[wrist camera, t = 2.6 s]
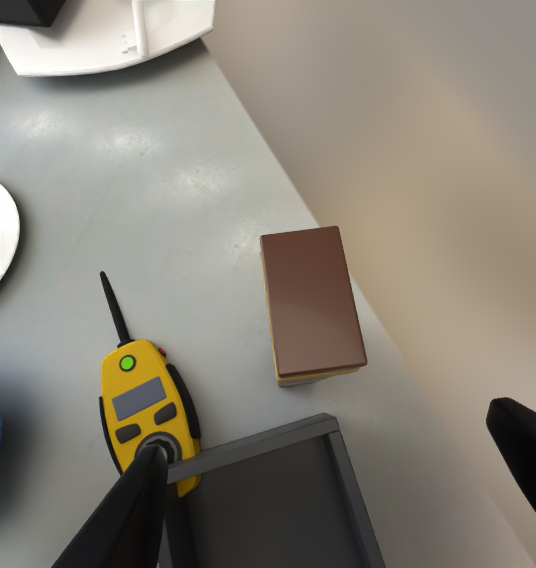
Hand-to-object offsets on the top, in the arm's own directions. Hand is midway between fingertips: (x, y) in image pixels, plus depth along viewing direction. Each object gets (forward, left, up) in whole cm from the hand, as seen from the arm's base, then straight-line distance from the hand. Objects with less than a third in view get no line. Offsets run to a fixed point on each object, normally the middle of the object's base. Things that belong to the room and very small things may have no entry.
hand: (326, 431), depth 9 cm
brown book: (+3, +2, -6) cm, 7 cm away
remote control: (-3, +10, -12) cm, 16 cm away
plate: (+22, +30, -11) cm, 40 cm away
